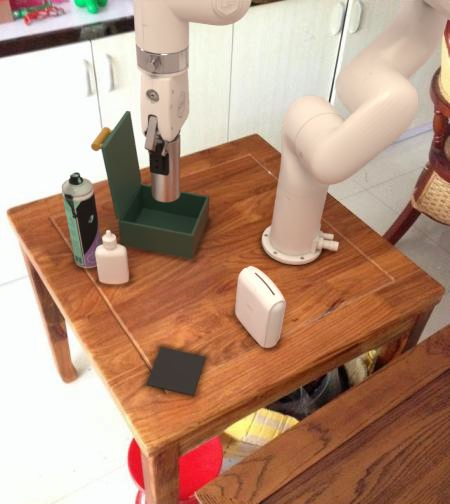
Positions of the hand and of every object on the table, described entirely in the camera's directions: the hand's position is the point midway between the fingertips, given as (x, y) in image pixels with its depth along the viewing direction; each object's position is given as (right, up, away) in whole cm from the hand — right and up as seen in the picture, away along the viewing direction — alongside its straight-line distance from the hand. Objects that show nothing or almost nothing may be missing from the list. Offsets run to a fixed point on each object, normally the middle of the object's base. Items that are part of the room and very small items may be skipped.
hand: (165, 162), depth 94 cm
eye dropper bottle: (-11, -19, +14) cm, 26 cm away
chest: (-2, -9, +23) cm, 25 cm away
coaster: (+2, -35, 0) cm, 35 cm away
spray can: (-17, -15, +17) cm, 28 cm away
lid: (-9, +3, +13) cm, 16 cm away
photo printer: (+16, -28, +8) cm, 33 cm away
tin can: (0, -4, +5) cm, 6 cm away
